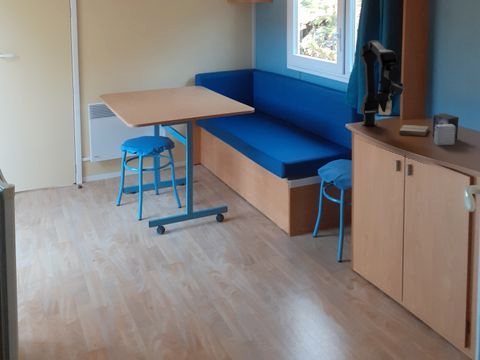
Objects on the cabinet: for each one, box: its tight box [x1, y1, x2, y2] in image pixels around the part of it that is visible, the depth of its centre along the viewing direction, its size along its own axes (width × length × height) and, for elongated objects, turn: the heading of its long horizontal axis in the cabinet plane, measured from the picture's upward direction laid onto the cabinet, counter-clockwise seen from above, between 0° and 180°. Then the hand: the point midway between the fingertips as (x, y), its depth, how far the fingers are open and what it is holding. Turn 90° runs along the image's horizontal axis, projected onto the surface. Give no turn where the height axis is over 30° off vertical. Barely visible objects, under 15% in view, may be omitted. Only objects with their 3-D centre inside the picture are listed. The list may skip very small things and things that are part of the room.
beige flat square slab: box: [398, 124, 429, 137], centre depth 306 cm, size 12×12×2 cm
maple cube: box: [378, 100, 393, 116], centre depth 301 cm, size 5×5×6 cm
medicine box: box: [433, 124, 456, 146], centre depth 282 cm, size 8×4×9 cm, turn 92°
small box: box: [432, 113, 460, 140], centre depth 293 cm, size 11×6×10 cm, turn 23°
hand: (385, 110), depth 301 cm, fingers closed on maple cube, 5 cm apart
